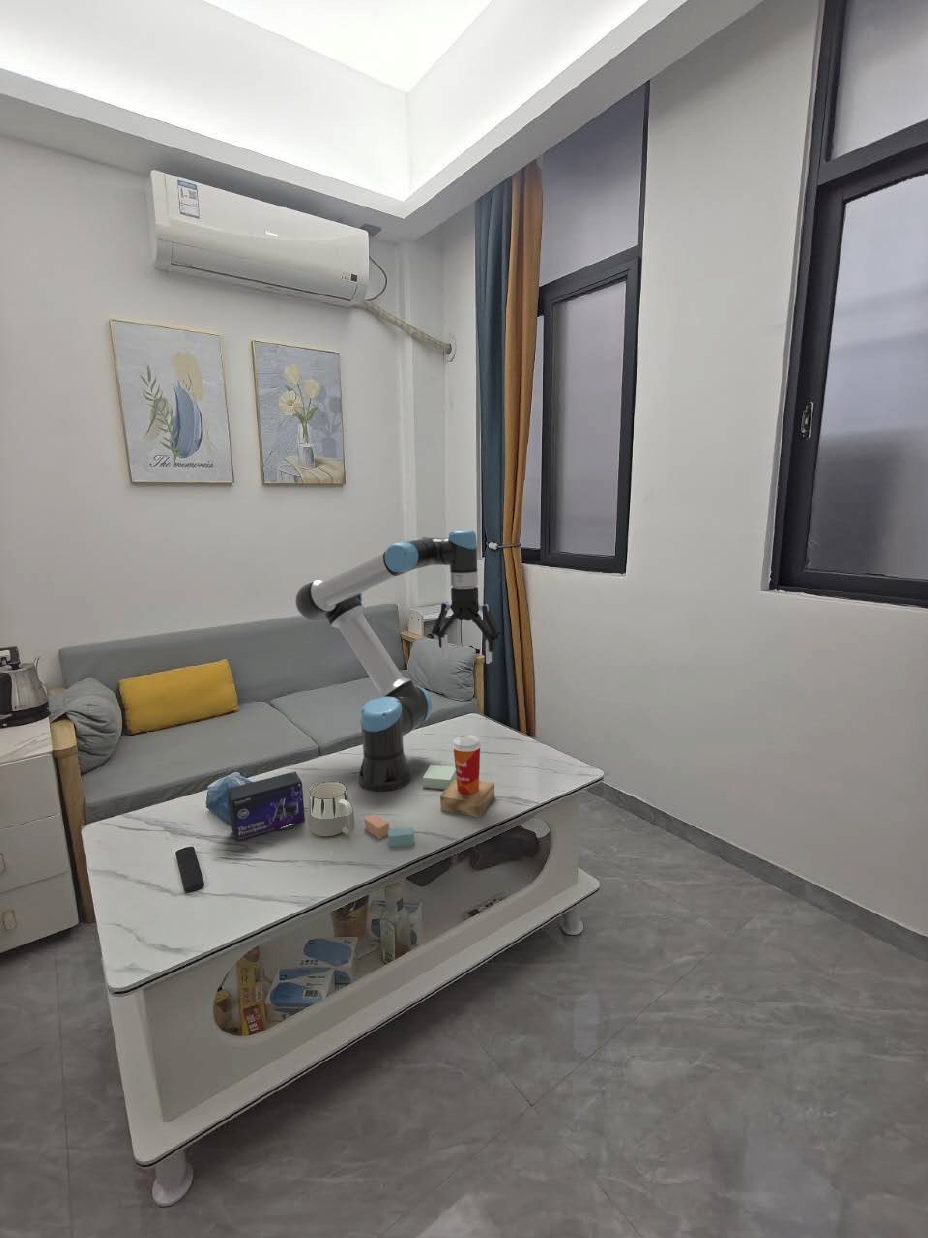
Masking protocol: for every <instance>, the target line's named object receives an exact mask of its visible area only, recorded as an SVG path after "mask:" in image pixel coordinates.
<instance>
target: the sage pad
mask: <svg viewBox="0 0 928 1238" xmlns="http://www.w3.org/2000/svg"><path fill="white" fill-rule="evenodd" d="M455 779H456V768H455V766H450V765H449V766H448V765H438V764H437V765H436V764H435V765H434V764H430V765H429V767H428V769H427V770H426V772H425V773H424V775H423V777H422V787H423V788H425V789H435V790H436V789H437V790H446V788H447V787H448V786H449V785H450V784H451V783H452V782H453V781H454V780H455Z"/></svg>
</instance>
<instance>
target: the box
mask: <svg viewBox="0 0 928 1238" xmlns="http://www.w3.org/2000/svg"><path fill="white" fill-rule="evenodd" d="M226 792H227V798H228V806H229V814H230V824H231V831H232V833H233V837H234V839H235V842H236V843H238V842H242V841H246V840H248V839H252V838H256V837H259V836H261V835H262V836H263V835H265V834H268V833H269V834H270V833H271V832H275V831H279V830H281V829H280V828H281V827H283V826H286V825H289V824H295V825H298V824H299V825H300V824H302V823H305V822H306V819H305V806H304V805H305V804H304V795H303V794H304V793H303V792H304V790H303V780H301V778H300V777H299V775H298V773H297V771H291V772H288V773H283V774H279V775H276V776H272V777H269V778H263V779H261V780H256V781H252V782H248V783H245V784H241V785H236V786H233V787H229V788H227V791H226ZM295 825H294V826H295Z"/></svg>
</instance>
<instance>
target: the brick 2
mask: <svg viewBox="0 0 928 1238" xmlns="http://www.w3.org/2000/svg"><path fill="white" fill-rule="evenodd" d="M414 838H415V836H414V826H411V827H410V826H409V827H401V828H400V827H399V828H389V829H388V834H387V842H388V848H393V847H396V848H397V847H403V846H404V847H405V846H406V847H407V846H414V845H415V839H414Z"/></svg>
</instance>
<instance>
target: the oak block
mask: <svg viewBox="0 0 928 1238" xmlns="http://www.w3.org/2000/svg"><path fill="white" fill-rule="evenodd" d="M494 798H495V783H494V782H488V781H484V780H483V781H482V780H479V789H478V791H477V792H476V793H474V794H469V795H467V794H462V793H460V792H459V791H458V787H457V778H456V779H455V780H454V781H453V782H452V783H451V784H450V785H449V786H448V787H447V788H446V789H444V791H443V792H442V793H441V794H440V795H439V800H440V801H439V802H440V803H439V804H440V805H439V806H440V811H441V810H442V811H445V812H446V811H447V812H451V813H456V814H460V815H461V814H462V815H466V816H471V817H476V818H480V817H481V816H482V814H483V813H484V812H485V810H486V809H487V808H488V806H489V805H490V804H491V802H492V801H493V800H494Z"/></svg>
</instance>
